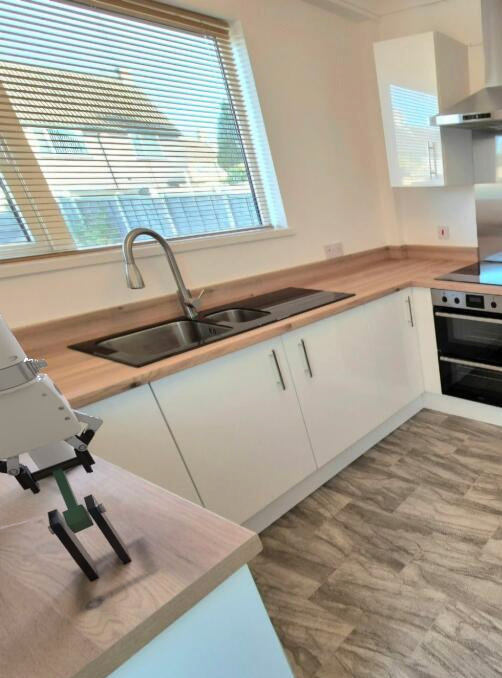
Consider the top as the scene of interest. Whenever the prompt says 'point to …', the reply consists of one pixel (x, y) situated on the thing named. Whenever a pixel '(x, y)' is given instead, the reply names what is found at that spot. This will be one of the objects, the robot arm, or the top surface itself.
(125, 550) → the bracket
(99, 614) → the top surface
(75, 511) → the lever
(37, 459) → the travel mug
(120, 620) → the top surface
